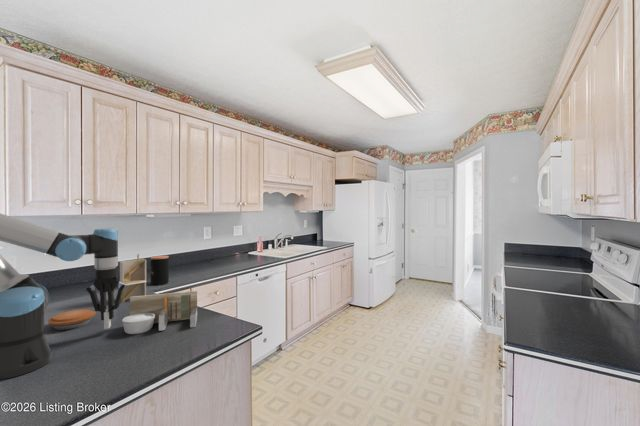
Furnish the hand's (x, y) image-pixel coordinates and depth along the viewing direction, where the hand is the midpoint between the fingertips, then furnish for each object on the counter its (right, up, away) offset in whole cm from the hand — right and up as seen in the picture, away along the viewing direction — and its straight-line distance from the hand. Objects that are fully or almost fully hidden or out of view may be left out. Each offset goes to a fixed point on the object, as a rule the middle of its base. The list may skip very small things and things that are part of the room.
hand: (107, 327), depth 115 cm
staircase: (-18, -3, +44) cm, 48 cm away
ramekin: (+10, -3, +4) cm, 11 cm away
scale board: (+16, -2, +12) cm, 20 cm away
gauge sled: (+19, -2, +7) cm, 20 cm away
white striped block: (+30, -2, +10) cm, 31 cm away
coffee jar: (-23, -2, +80) cm, 83 cm away
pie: (-21, -3, +9) cm, 23 cm away
